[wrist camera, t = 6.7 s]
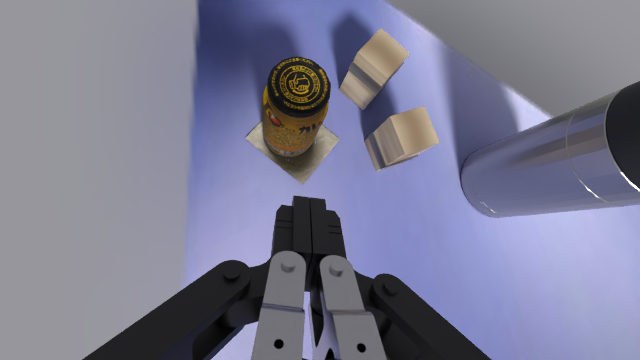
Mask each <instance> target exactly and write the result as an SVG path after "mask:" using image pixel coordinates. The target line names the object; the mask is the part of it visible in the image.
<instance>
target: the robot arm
mask: <svg viewBox="0 0 640 360" xmlns="http://www.w3.org/2000/svg"><path fill="white" fill-rule="evenodd" d="M461 182H462V187H463V191H464V193H465V195H466V197H467V199H468V200H469V202H470V203H471V205H472V206H473V207H474V208H475V209H476V210H478V211H479V212H481V213H482V214H484V215H487V216H489V217H495V218H500V217H512V216H524V215H536V214H546V213H557V212H567V211H578V210H589V209H599V208H610V207H620V206H629V205H640V81H639V82H637V83H634V84H632V85H629V86H627V87H625V88H623V89H621V90H618V91H616V92H614V93H611V94H609V95H606V96H604V97H602V98H599V99H597V100H595V101H592V102H590V103H588V104H585V105H584V106H581V107H579V108H576V109H574V110H572V111H569V112H567V113H564V114H562V115H560V116H557V117H555V118H552V119H550V120H548V121H545V122H543V123H540V124H538V125H536V126H533V127H531V128H529V129H526V130H524V131H521V132H519V133H517V134H514V135H512V136H510V137H507V138H505V139H502V140H500V141H497V142H495V143H493V144H490V145H488V146H486V147H483V148H481V149H479V150H477V151H475V152H473V153H472V154H471V155H470V156H469V157H468V158H467V159H466V161H465V163H464V165H463V168H462V174H461ZM304 291H307V292H310V301H309V305H308V313H309V323H310V332H311V341H312V350H313V359H312V360H491V359H490V358H489V357H488V356H487V355H485V354H484V353H483V352H482V351H481V350H480V349H479V348H477V347H476V346H475V345H474V344H473V343H472V342H471V341H469V340H468V339H467V338H466V337H465V336H464V335H463V334H461V333H460V332H459V331H458V330H457V329H456V328H455V327H453V326H452V325H451V324H450V323H449V322H448V321H447V320H445V319H444V318H443V317H442V316H441V315H440V314H439V313H437V312H436V311H435V310H434V309H433V308H432V307H431V306H429V305H428V304H427V303H426V302H425V301H424V300H423V299H421V298H420V297H419V296H418V295H417V294H416V293H415V292H413V291H412V290H411V289H410V288H409V287H408V286H407V285H405V284H404V283H403V282H402V281H401V280H400V279H398V278H397V277H395V276H393V275H390V274H379V275H377V276H376V277H375V278H374V279H372V278H370V277H367V276H364V275H362V274H359V273H358V272H356V271H355V270H354V269H353V267H352V265H351V263H350V262H349V261H348V260H347V258H346V252H345V246H344V240H343V235H342V229H341V223H340V218H339V217H338V215H337V214H336V212H335V211H331V210H326V203H325V199H319V198H309V197H301V196H293V201H292V206H287V205H281V206H280V208H279V209H278V210H277V212H276V219H275V225H274V232H273V241H272V251H271V258H270V259H269V260H268V261H267V262H266V263H264V264H262V265H259V266H255V267H250V268H249V267H248V266H247V265H246V264H245V263H243V262H241V261H237V260H228V261H224V262H222V263H220V264H218V265H217V266H216V267H214V268H213V269H211V270H210V271H208V272H207V273H206V274H204V275H203V276H201V277H200V278H198V279H197V280H196V281H194V282H193V283H191V284H190V285H188V286H187V287H185V288H184V289H183V290H181V291H180V292H178V293H177V294H175V295H174V296H173V297H171V298H170V299H168V300H167V301H166V302H164V303H163V304H161V305H160V306H158V307H157V308H156V309H154V310H153V311H151V312H150V313H148V314H147V315H146V316H144V317H143V318H141V319H140V320H138V321H137V322H135V323H134V324H133V325H131V326H130V327H128V328H127V329H125V330H124V331H123V332H121V333H120V334H118V335H117V336H115V337H114V338H112V339H111V340H110V341H108V342H107V343H105V344H104V345H103V346H101V347H100V348H98V349H97V350H96V351H94V352H93V353H91V354H90V355H88V356H87V357H85V358H84V359H82V360H211V359H212V358H213V357H214V356H215V355H216V354H217V353H218V352H219V351H220V350H221V349H222V348H223V347H224V346H225V345H226V344H227V343H228V342H229V341H230V340H231V339H232V338H233V337H235V336H236V335H237V334H238V333H239V332H240V331H241V330H242V329H243V327H244V326H245V325H246V324H250V323H254V322H257V321H258V327H257V332H256V337H255V342H254V347H253V352H252V357H251V360H307V359H304V358H302V351H303V335H304V319H305V311H304V310H303V302H304Z"/></svg>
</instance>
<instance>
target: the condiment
mask: <svg viewBox="0 0 640 360" xmlns="http://www.w3.org/2000/svg"><path fill="white" fill-rule="evenodd" d="M330 88H331V84H330V81H329V79H328V77H327V75H326V72H325V71H324V70H323V69H322V68H321V67H320V66H319V65H318V64H316V63H315V62H314V61H312V60H310V59H305V58H302V57H291V58H288V59H285V60H283V61H281V62H280V63H278V64H277V65H276V66H275V67H274V68H273V69H272V70H271V73H270V75H269V78H268V83H267V85H266V87H265V89H264V93H263V98H262V100H263V101H262V121H261V122H260V123H259V124H258V125H257V126H256V127H255V128H254V129H253V130H252V131H251V132H250V133H249V135H248V136H247V137H246V138H245V139H247V140H248V141H249V142H250V143H251V144H253V145H254V146H255V147H256V148H258V149H259V150H260V151H261V152H262V153H264V154H265V155H266V156H268V157H269V158H270V159H271V160H273V161H274V162H275V163H276V164H278V165H279V166H280V167H281V168H283V169H284V170H285V171H286V172H287V173H289V174H290V175H291V176H293V177H294V178H295V179H296V180H298V181H299V182H300V183H301V184H304V182H305V181H306V180H307V179H308V178H309V176H310V175H311V174H312V173H313V171H314V170H315V169H316V168H317V167H318V165H319V164H320V163H321V162H322V160H323V159H324V158H325V157H326V156H327V154H328V153H329V152H330V151H331V149H332V148H333V147H334V146H335V145H336V143H337V142H338V141H339V140H340V139H339V138H338V137H336V136H335V135H334V134H333V133H331V132H330V131H329V130H328V129H327V128H325V127H324V126H323V125H322V123H323V120H324V118H325V116H326V114H327V110H328V100H329V98H330ZM315 138H316V140H314V139H315ZM315 141H316V142H317V143H316V144H315ZM288 159H289V161H288Z"/></svg>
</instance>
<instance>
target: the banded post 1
mask: <svg viewBox="0 0 640 360" xmlns="http://www.w3.org/2000/svg"><path fill="white" fill-rule="evenodd" d="M409 54H410V53H409V52H408V51H407V50H405V49H404V48H403V47H402V46H401V45H400V44H399V43H397V42H396V41H395V40H394V39H393V38H392V37H390V36H389V35H388V34H387V33H386V32H385V31H384V30H382V29H381V28H380V29H379V30H378V31H377V32H376V34H375V35H374V36H373V37H372V38H371V39H370V40H369V41H368V42H367V43H366V44H365V45H364V46H363V47H362V48H361V49H360V50H359V51H358V52H357V54H356V56H355V59H354V60H353V61H352V62H351V64H350V66H349V68H348V70H349V71H348V73H347V75H346V77H345V79H344V81H343V83H342V85H341V87H340V89H339V90H340V91H341V92H342V93H343V94H345V95H346V96H347V97H348V98H349V99H350V100H351V101H353V102H354V103H355V104H356V105H357V106H358V107H360V108H361V109H362V110H364V109H365V108H366V107H367V106H368V104H369V103H370V102H371V101H372V100H373V99H374V98H375V97H376V95H377V94H378V93H379V92H380V91H381V90H382V88H383V87H384V86H385V85H386V83H387V82H388V81H389V80H390V79H391V77H392V76H393V75H394V74H395V73H396V72H397V71H398V69H399V68H400V67H401V66H402V64H403V63H404V62H403V61H404V60H405V59H406V58H407V56H408V55H409Z"/></svg>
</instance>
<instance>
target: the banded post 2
mask: <svg viewBox="0 0 640 360" xmlns="http://www.w3.org/2000/svg"><path fill="white" fill-rule="evenodd" d="M364 142H365V145H366V147H367V150H368V152H369V155H370V158H371V160H372V163H373V165H374V168H375V170H376V171H379V170H382V169H385V168H388V167H391V166H394V165H397V164H400V163H403V162H405V161H407V160H410V159H413V158H414V157H416V156H418V154H419V153H421V152H423V151H425V150H427V149H428V148H430V147H432V146H434V145H436V144H437V143H439V140H438V137H437V135H436V133H435V130H434V128H433V125H432V123H431V121H430V118H429V116H428V113H427V111H426V109H425V106H423V107H419V108H416V109H413V110H409V111H406V112H402V113H399V114H396V115H392V116H390V117H389V118H388V119H387V120H386V121H384V122H383V123H382V124H381V125H380V126H379V127H378V128H377V129H376V130H375V131H373V132H372V133H371V134H370V135H369V136H368V138H367V139H366V140H365V141H364Z"/></svg>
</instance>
